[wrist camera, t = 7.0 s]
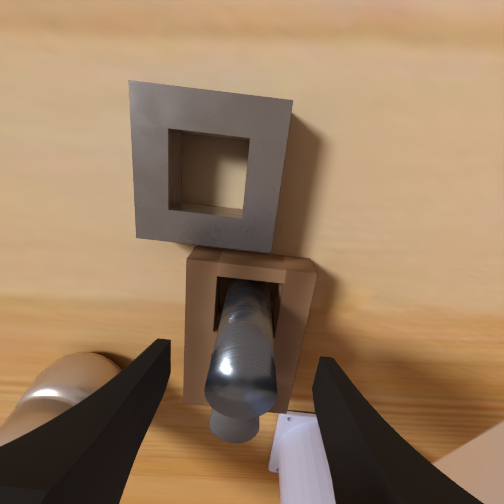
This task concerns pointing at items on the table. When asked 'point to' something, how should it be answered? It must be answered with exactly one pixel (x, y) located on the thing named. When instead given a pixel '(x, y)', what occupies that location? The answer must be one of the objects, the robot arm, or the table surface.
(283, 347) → the rack
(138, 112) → the socket block
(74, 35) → the table surface
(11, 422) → the plastic bottle
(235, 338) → the shiny steel cylinder
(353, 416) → the robot arm
